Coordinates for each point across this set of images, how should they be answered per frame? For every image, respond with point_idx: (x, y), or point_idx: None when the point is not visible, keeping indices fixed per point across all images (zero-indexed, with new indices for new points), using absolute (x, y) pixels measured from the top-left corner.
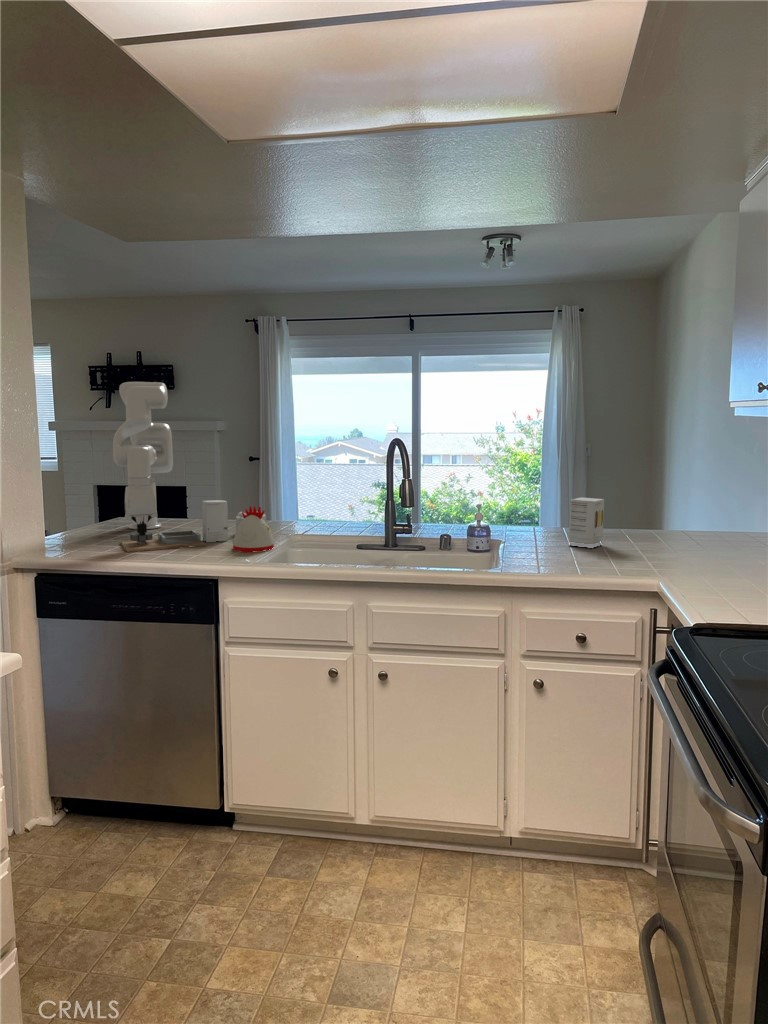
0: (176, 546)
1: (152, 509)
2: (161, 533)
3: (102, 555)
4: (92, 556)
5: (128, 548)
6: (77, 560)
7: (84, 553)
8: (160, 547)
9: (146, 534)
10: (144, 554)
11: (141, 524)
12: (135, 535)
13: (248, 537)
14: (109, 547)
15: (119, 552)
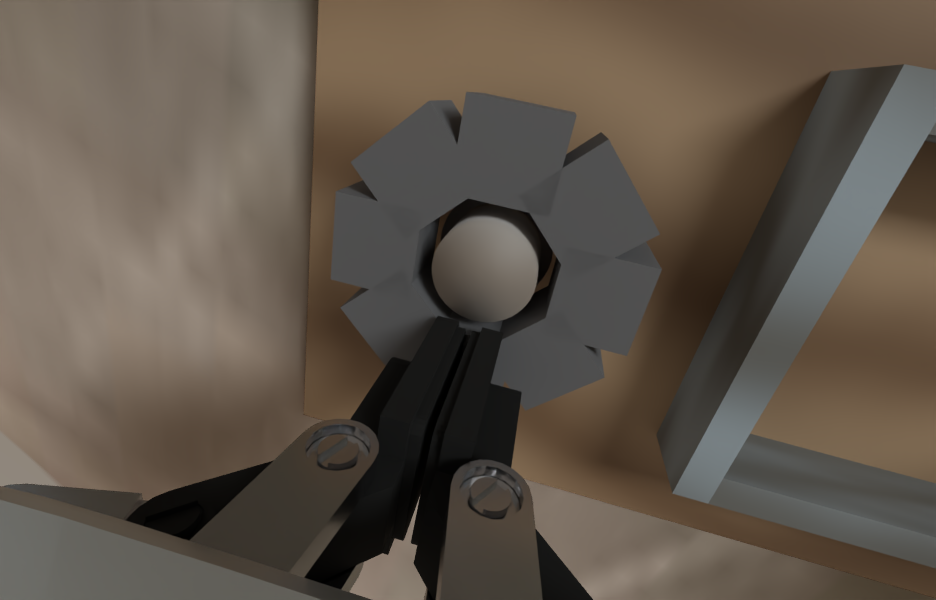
0: (725, 530)
1: None
2: (887, 193)
3: (150, 383)
4: (89, 371)
5: (323, 388)
6: (22, 421)
7: (16, 225)
8: (581, 489)
9: (520, 380)
10: (410, 530)
11: (395, 536)
12: (376, 351)
13: None
14: (198, 56)
15: (266, 363)
